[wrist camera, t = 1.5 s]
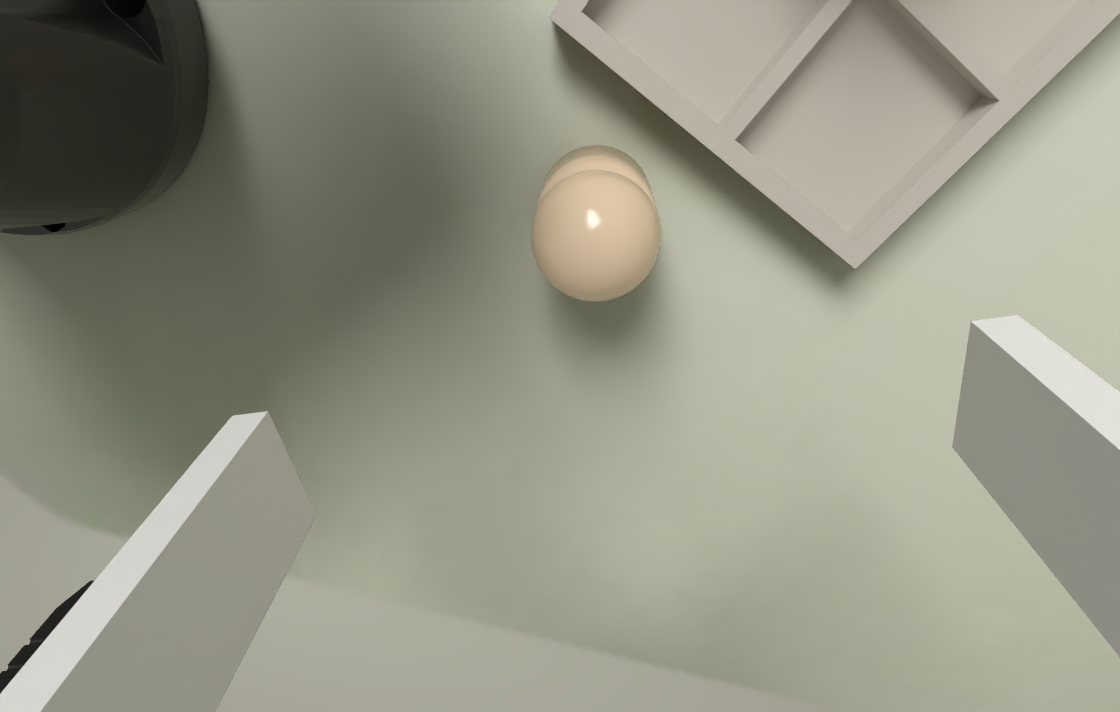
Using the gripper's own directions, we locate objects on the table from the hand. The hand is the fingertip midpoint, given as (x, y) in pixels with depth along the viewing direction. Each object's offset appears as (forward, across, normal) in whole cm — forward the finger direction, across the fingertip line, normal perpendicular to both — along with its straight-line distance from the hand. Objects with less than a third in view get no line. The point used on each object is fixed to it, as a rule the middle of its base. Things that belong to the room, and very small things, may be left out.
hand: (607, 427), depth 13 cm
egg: (+16, 0, 0) cm, 17 cm away
